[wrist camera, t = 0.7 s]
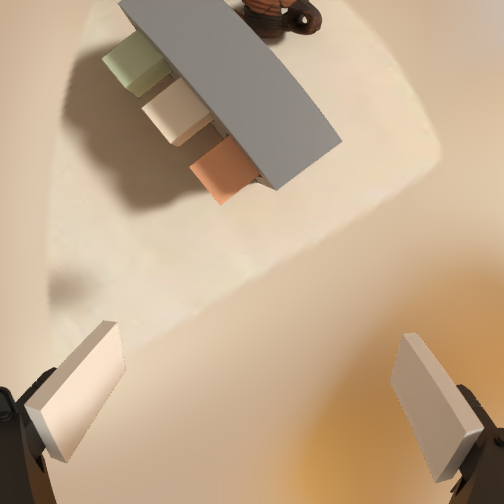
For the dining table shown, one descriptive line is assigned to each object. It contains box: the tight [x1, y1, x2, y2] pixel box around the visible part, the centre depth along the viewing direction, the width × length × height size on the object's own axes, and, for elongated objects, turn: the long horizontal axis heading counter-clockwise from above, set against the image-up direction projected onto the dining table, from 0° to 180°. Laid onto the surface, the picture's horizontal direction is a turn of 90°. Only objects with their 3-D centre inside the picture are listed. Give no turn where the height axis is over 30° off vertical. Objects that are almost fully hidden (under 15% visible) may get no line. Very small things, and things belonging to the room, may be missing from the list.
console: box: [118, 0, 342, 191], centre depth 26 cm, size 20×6×14 cm, turn 38°
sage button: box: [102, 30, 172, 98], centre depth 24 cm, size 4×5×4 cm
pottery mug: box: [235, 0, 322, 38], centre depth 28 cm, size 12×10×8 cm
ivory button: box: [142, 77, 213, 147], centre depth 26 cm, size 4×5×4 cm
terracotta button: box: [190, 136, 260, 205], centre depth 27 cm, size 4×5×4 cm
